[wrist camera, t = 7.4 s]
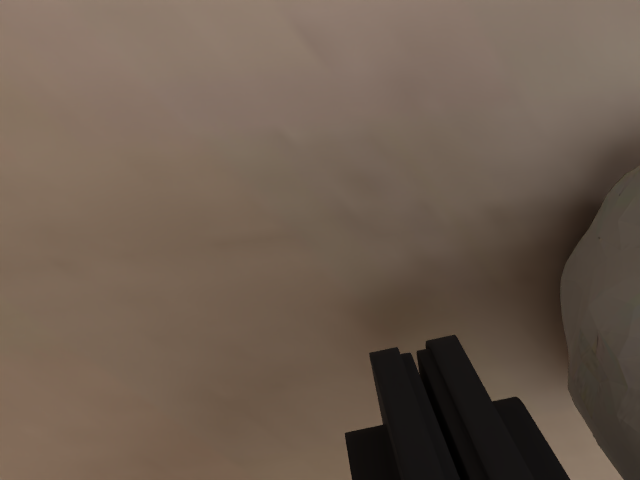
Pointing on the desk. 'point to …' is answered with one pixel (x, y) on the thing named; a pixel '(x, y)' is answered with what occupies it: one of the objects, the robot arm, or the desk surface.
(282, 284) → the desk surface
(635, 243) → the ceramic sculpture
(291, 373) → the desk surface
